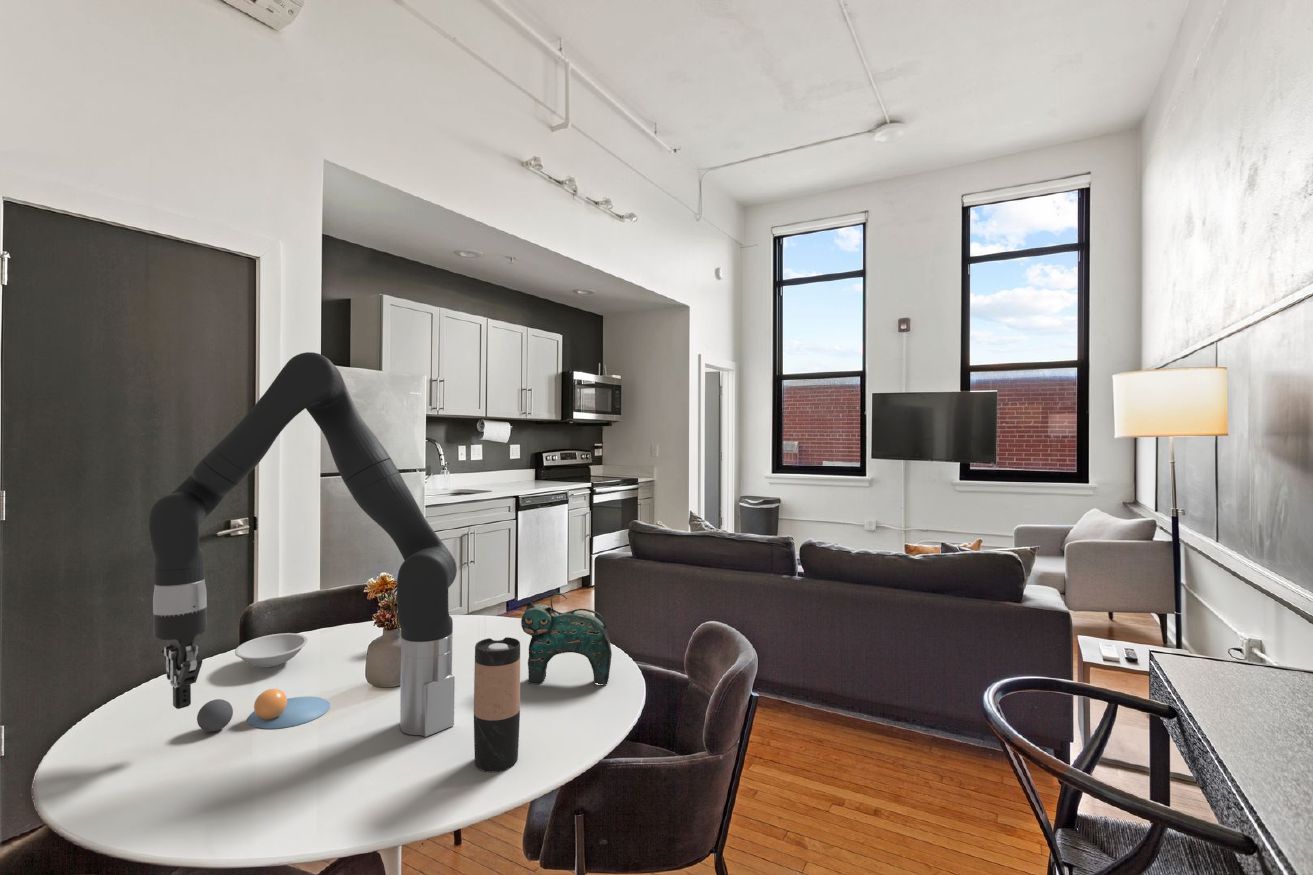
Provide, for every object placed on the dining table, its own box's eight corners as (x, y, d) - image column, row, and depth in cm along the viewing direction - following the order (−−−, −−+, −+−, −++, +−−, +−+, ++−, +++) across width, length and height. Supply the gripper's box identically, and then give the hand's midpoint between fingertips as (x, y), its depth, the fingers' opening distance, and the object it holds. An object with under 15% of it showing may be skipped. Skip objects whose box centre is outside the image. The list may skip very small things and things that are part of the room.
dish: (249, 655, 158) (249, 635, 158) (314, 650, 162) (314, 631, 162) (223, 683, 141) (223, 660, 141) (296, 677, 145) (297, 655, 145)
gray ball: (204, 701, 116) (215, 729, 115) (233, 690, 122) (243, 717, 121) (185, 712, 118) (196, 741, 117) (215, 701, 123) (225, 728, 122)
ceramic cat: (519, 685, 142) (520, 594, 142) (526, 674, 149) (527, 587, 148) (609, 688, 141) (610, 597, 141) (612, 677, 148) (614, 589, 147)
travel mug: (495, 777, 104) (497, 654, 104) (463, 764, 109) (464, 645, 108) (528, 757, 111) (530, 641, 111) (496, 745, 115) (498, 633, 115)
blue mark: (343, 710, 128) (343, 709, 128) (266, 736, 117) (266, 734, 117) (310, 691, 137) (310, 690, 137) (236, 714, 126) (236, 713, 126)
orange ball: (266, 729, 121) (296, 711, 125) (257, 704, 120) (287, 686, 124) (254, 721, 125) (283, 703, 129) (244, 697, 123) (274, 680, 127)
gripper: (219, 608, 111) (221, 708, 111) (192, 596, 119) (193, 690, 120) (166, 619, 105) (168, 724, 105) (142, 605, 113) (143, 704, 114)
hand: (181, 706), depth 112 cm, fingers closed
